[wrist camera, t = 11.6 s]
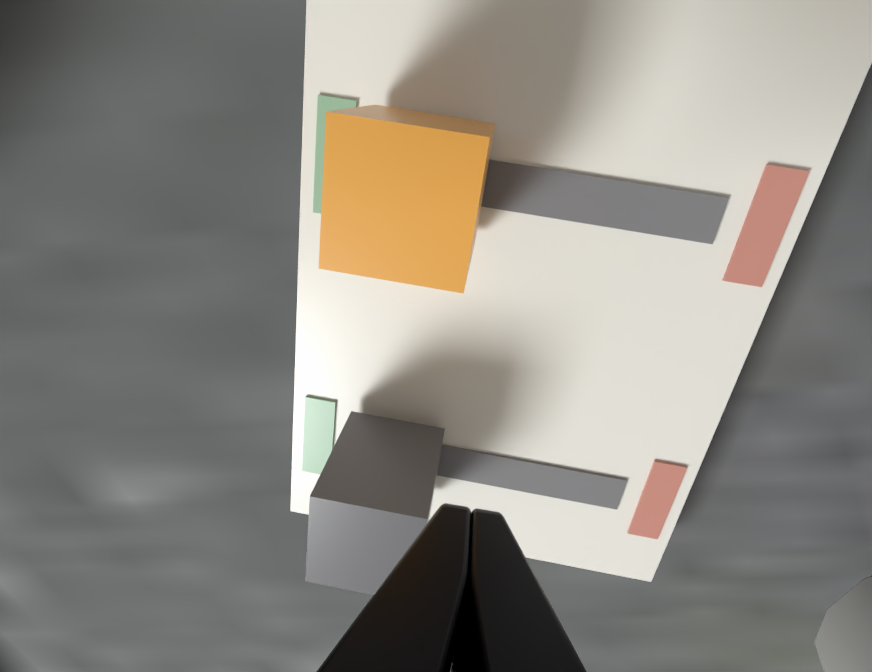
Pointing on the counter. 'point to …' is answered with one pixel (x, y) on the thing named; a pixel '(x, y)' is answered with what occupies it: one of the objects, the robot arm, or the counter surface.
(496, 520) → the robot arm
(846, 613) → the cup
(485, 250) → the breaker panel
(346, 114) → the orange matte cube
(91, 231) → the counter surface
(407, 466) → the switch
